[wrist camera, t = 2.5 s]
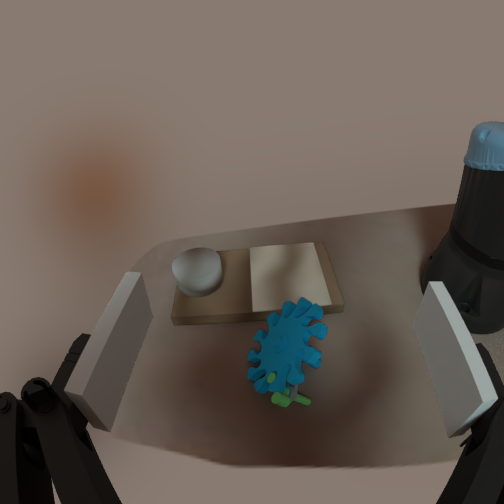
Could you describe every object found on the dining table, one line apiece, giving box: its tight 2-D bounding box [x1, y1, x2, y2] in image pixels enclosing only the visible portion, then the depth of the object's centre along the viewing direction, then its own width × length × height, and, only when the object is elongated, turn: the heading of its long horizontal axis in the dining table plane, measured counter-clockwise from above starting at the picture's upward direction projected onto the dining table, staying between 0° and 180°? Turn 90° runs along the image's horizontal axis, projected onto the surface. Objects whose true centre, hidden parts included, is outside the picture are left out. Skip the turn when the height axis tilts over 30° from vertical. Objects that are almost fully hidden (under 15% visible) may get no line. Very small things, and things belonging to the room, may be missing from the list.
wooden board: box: [171, 242, 344, 325], centre depth 40 cm, size 20×12×4 cm, turn 92°
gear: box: [247, 297, 328, 407], centre depth 30 cm, size 11×6×10 cm
